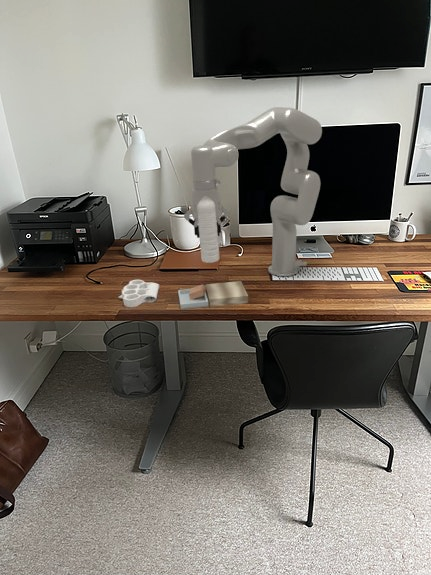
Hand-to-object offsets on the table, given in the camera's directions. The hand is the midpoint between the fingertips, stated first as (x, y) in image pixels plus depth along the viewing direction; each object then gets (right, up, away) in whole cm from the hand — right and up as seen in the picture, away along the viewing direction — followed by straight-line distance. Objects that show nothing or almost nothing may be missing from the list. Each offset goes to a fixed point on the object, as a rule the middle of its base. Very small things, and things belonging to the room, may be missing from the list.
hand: (207, 235), depth 157 cm
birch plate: (+7, -22, +11) cm, 26 cm away
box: (-6, -23, +10) cm, 26 cm away
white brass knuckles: (-27, -22, +15) cm, 38 cm away
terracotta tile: (-4, -21, +11) cm, 24 cm away
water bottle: (+1, -8, +4) cm, 9 cm away
